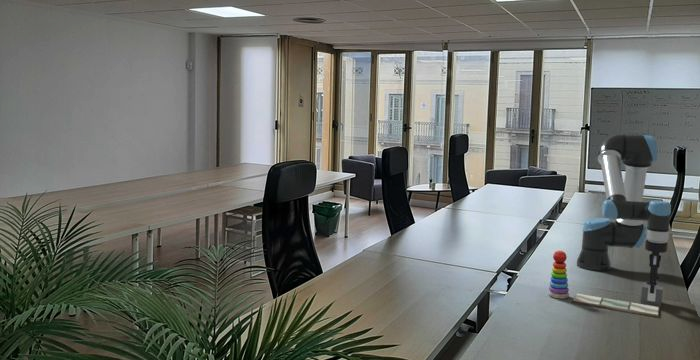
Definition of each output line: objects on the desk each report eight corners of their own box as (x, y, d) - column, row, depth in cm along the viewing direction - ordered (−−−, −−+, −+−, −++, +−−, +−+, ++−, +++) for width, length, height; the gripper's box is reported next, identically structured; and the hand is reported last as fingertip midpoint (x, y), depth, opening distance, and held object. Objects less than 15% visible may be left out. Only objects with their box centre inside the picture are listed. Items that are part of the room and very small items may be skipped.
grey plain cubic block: (641, 299, 233) (643, 282, 232) (661, 302, 230) (662, 285, 229) (640, 304, 227) (642, 286, 226) (660, 307, 224) (662, 289, 223)
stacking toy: (564, 293, 239) (567, 248, 236) (572, 299, 231) (575, 253, 228) (545, 292, 238) (548, 248, 236) (552, 299, 230) (555, 253, 228)
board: (576, 294, 236) (576, 292, 236) (659, 308, 222) (659, 306, 222) (572, 302, 227) (572, 300, 227) (658, 317, 213) (658, 315, 212)
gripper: (646, 234, 235) (642, 289, 238) (644, 244, 218) (639, 303, 221) (667, 237, 232) (662, 292, 235) (667, 247, 215) (661, 307, 218)
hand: (651, 297), depth 228 cm, fingers closed on grey plain cubic block, 7 cm apart
